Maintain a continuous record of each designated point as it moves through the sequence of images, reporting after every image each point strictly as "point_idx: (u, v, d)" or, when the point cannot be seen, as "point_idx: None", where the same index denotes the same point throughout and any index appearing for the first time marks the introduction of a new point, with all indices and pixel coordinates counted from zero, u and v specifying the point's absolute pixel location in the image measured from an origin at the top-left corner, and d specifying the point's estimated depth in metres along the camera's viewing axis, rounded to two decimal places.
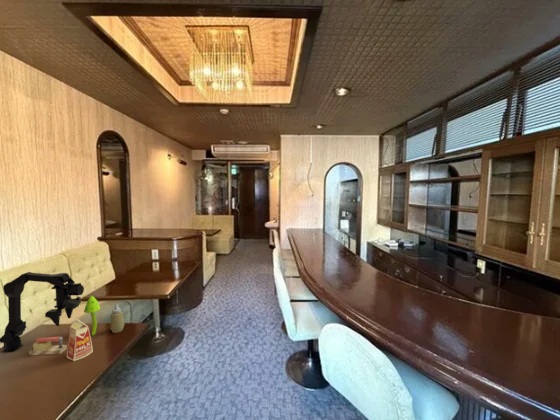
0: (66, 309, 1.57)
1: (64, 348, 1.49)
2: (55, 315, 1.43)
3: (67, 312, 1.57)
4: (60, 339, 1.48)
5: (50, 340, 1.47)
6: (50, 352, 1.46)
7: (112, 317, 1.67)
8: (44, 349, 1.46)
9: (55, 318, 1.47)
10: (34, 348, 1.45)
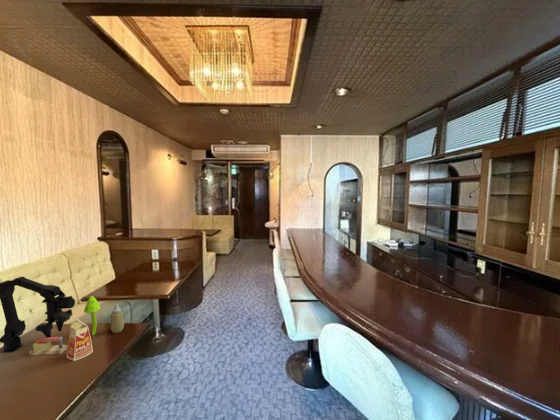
0: (57, 322, 1.57)
1: (64, 348, 1.49)
2: (46, 329, 1.44)
3: (58, 325, 1.57)
4: (60, 339, 1.48)
5: (50, 340, 1.47)
6: (50, 352, 1.46)
7: (112, 317, 1.67)
8: (44, 349, 1.46)
9: (46, 331, 1.48)
10: (34, 348, 1.45)
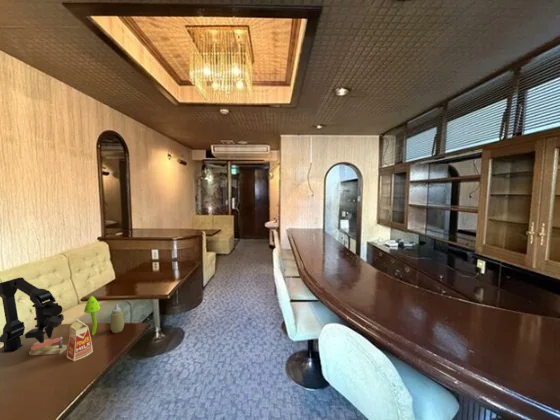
0: (46, 329, 1.49)
1: (64, 348, 1.49)
2: (36, 336, 1.37)
3: (47, 332, 1.49)
4: (61, 338, 1.48)
5: (50, 343, 1.44)
6: (50, 352, 1.46)
7: (112, 317, 1.66)
8: (44, 349, 1.46)
9: (39, 336, 1.42)
10: None
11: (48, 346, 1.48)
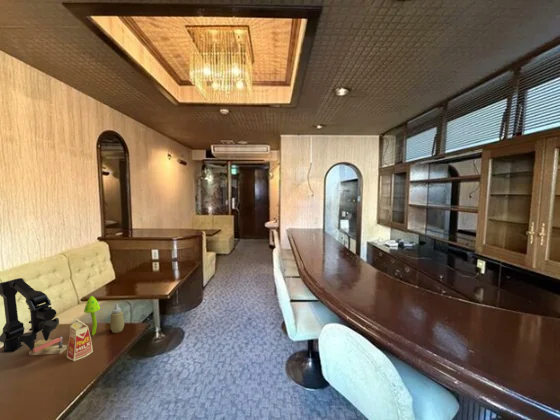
0: (43, 331, 1.47)
1: (64, 348, 1.49)
2: (29, 340, 1.33)
3: (44, 334, 1.47)
4: None
5: (51, 343, 1.44)
6: (50, 352, 1.46)
7: (112, 317, 1.67)
8: (44, 349, 1.46)
9: (29, 342, 1.37)
10: None
11: (48, 346, 1.48)
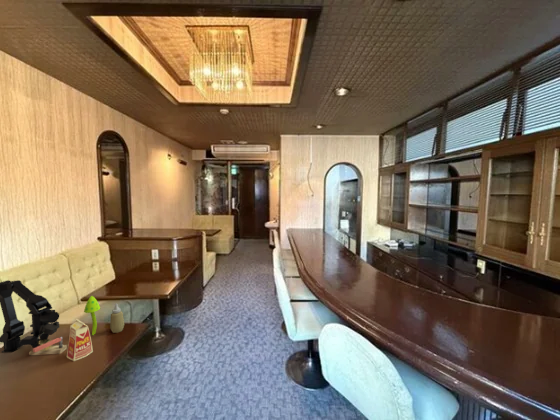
0: (41, 336, 1.50)
1: (64, 348, 1.49)
2: (30, 343, 1.38)
3: (42, 339, 1.50)
4: None
5: (51, 343, 1.44)
6: (50, 352, 1.46)
7: (112, 317, 1.67)
8: (44, 349, 1.46)
9: (34, 343, 1.44)
10: None
11: (48, 346, 1.48)
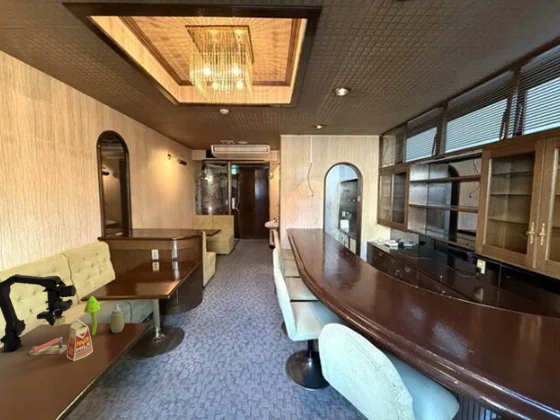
0: (55, 313, 1.58)
1: (64, 348, 1.49)
2: (46, 317, 1.46)
3: None
4: None
5: (51, 343, 1.44)
6: (50, 352, 1.46)
7: (112, 317, 1.67)
8: (59, 324, 1.54)
9: (49, 318, 1.52)
10: None
11: (62, 322, 1.56)
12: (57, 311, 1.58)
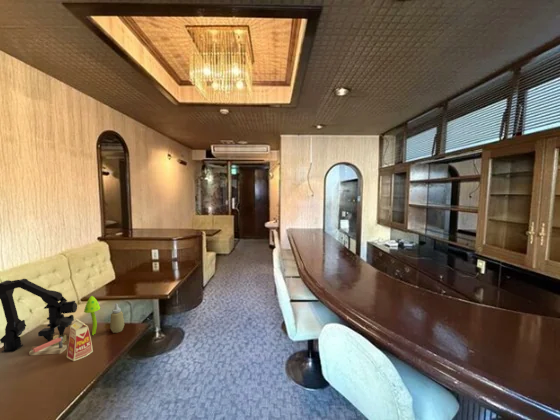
0: (58, 327, 1.60)
1: (64, 348, 1.49)
2: (48, 334, 1.47)
3: (59, 330, 1.60)
4: None
5: (51, 343, 1.44)
6: (50, 352, 1.46)
7: (112, 317, 1.67)
8: None
9: (49, 336, 1.51)
10: None
11: (64, 341, 1.57)
12: (60, 326, 1.61)
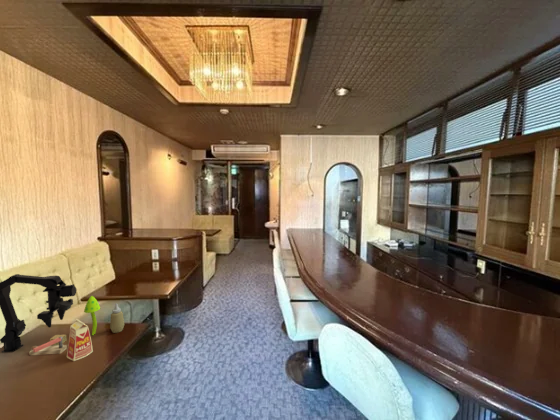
0: (58, 311, 1.60)
1: (64, 348, 1.49)
2: (47, 317, 1.47)
3: (59, 314, 1.60)
4: None
5: (51, 343, 1.44)
6: (50, 352, 1.46)
7: (112, 317, 1.67)
8: None
9: (47, 320, 1.50)
10: None
11: (63, 341, 1.57)
12: (60, 309, 1.61)
